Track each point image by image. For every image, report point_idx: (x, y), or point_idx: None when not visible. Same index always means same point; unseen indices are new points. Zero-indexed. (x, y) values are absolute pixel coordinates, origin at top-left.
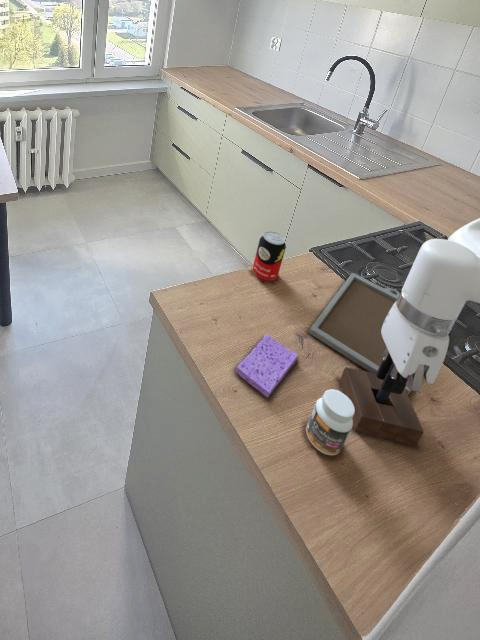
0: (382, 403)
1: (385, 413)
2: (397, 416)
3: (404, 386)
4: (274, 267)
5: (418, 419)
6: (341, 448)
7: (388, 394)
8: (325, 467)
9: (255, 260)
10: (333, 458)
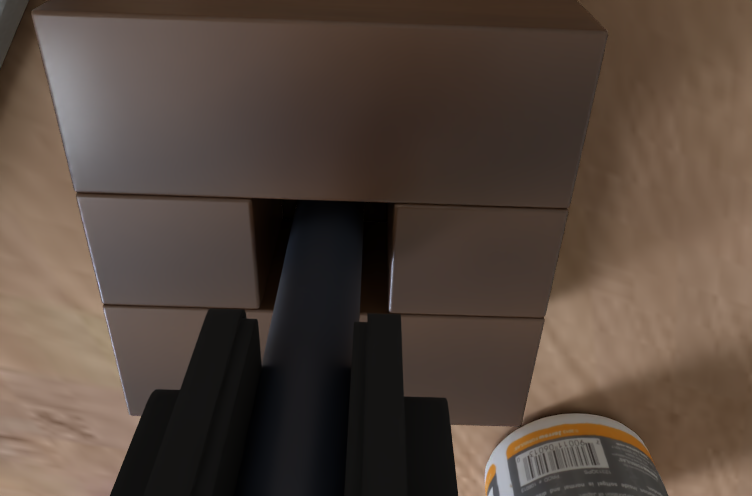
0: (362, 246)
1: (473, 287)
2: (481, 204)
3: (400, 413)
4: None
5: (486, 30)
6: (648, 462)
7: (355, 309)
8: (689, 476)
9: None
10: (650, 443)
